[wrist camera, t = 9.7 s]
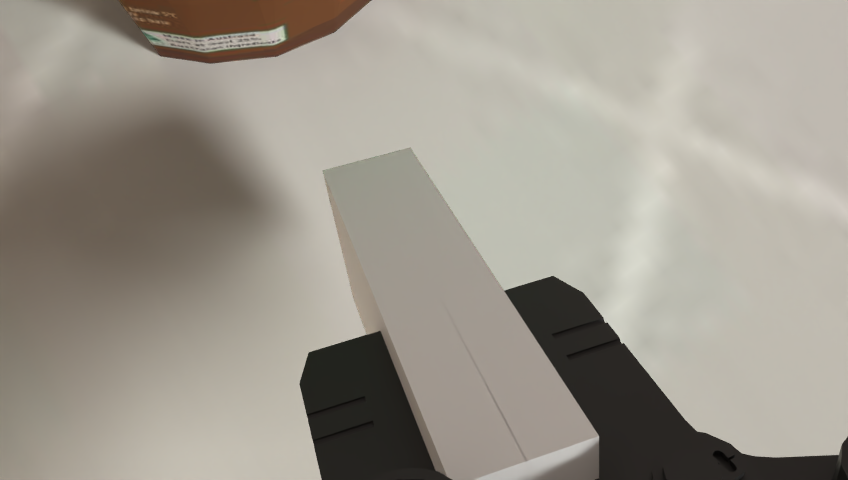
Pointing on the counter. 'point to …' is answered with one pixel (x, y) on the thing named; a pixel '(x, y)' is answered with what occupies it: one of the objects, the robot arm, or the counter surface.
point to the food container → (236, 26)
